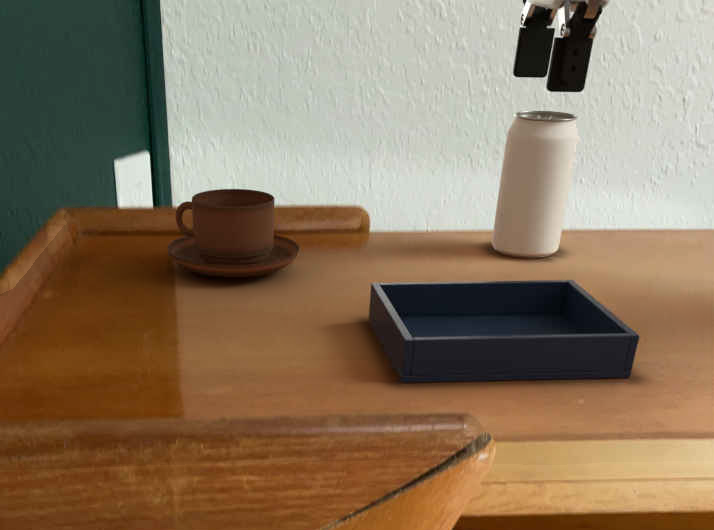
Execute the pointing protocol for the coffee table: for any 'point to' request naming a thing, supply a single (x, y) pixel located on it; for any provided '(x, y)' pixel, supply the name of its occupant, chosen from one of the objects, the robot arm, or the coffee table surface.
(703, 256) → the coffee table surface
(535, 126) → the can
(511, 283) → the tray
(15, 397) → the coffee table surface
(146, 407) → the coffee table surface
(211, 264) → the cup and saucer
